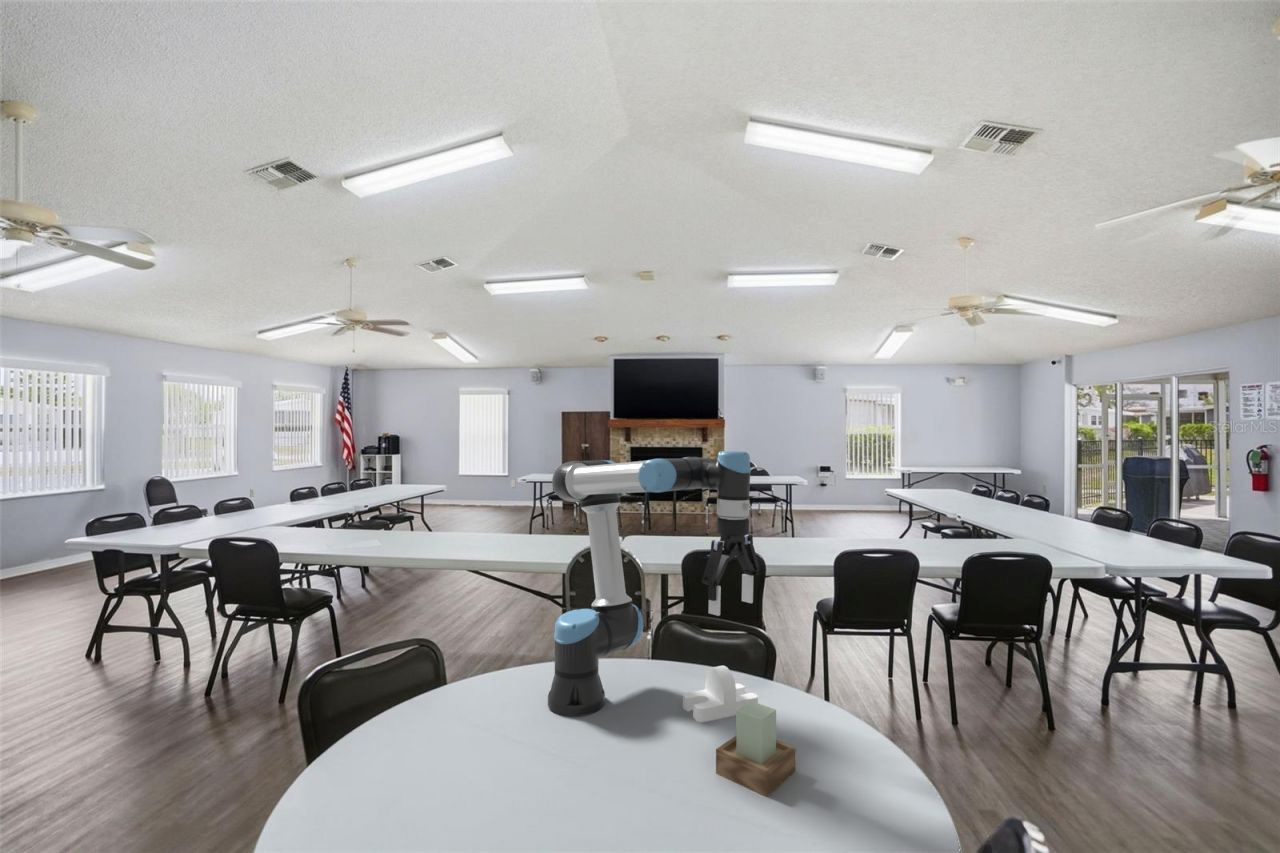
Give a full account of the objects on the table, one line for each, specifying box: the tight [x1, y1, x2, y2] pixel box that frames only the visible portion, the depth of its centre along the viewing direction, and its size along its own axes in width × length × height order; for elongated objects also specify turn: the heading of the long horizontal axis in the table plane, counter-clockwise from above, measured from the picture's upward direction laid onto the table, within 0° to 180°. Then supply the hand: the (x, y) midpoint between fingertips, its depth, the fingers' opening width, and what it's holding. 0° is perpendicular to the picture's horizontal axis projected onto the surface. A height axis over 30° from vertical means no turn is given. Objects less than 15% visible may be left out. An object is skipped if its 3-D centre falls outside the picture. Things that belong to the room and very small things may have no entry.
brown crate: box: [715, 735, 796, 798], centre depth 122 cm, size 12×12×5 cm
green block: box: [735, 701, 777, 764], centre depth 122 cm, size 6×6×9 cm
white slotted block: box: [682, 665, 759, 723], centre depth 151 cm, size 10×18×11 cm, turn 113°
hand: (731, 608), depth 135 cm, fingers open, 13 cm apart
